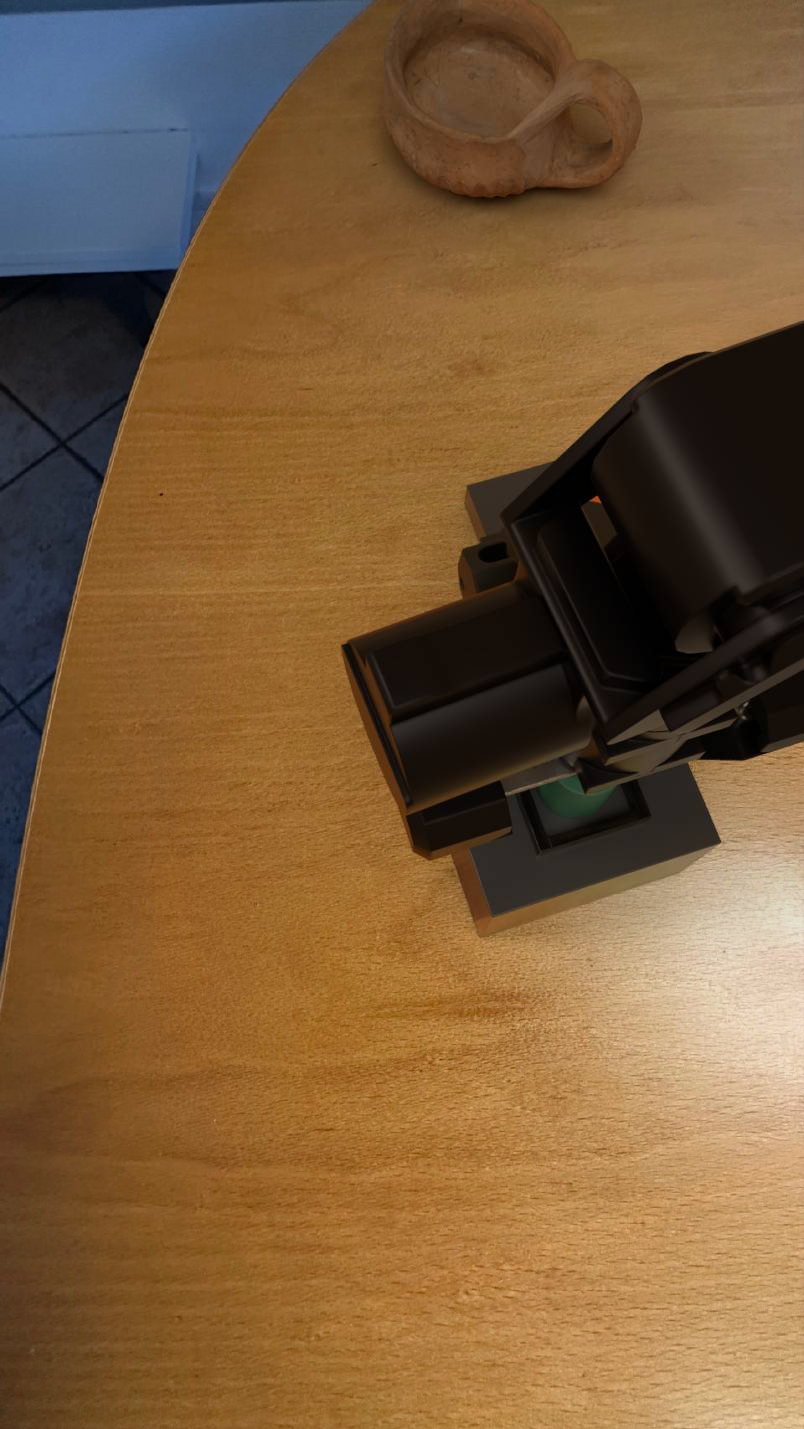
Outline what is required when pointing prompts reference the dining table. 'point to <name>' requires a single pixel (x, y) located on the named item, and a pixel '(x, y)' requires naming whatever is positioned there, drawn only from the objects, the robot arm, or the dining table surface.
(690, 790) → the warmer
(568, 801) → the bottle
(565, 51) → the bowl
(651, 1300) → the dining table surface
